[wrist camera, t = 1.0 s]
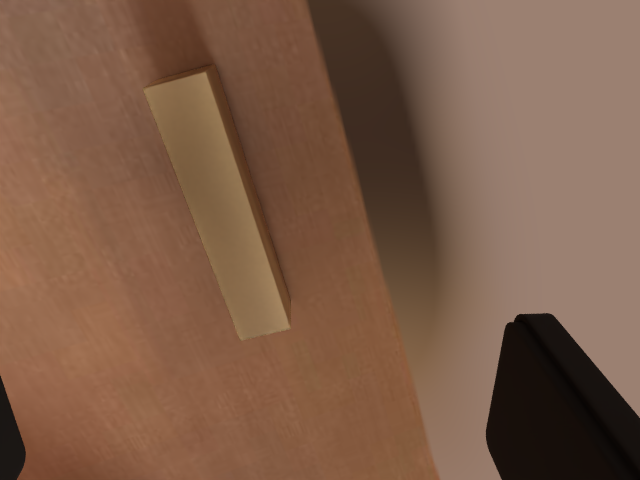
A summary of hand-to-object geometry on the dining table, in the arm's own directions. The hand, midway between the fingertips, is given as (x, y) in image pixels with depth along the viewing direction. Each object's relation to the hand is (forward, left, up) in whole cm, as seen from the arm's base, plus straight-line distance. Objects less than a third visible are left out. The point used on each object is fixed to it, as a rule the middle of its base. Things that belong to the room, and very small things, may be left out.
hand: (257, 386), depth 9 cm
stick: (+3, +1, -15) cm, 15 cm away
